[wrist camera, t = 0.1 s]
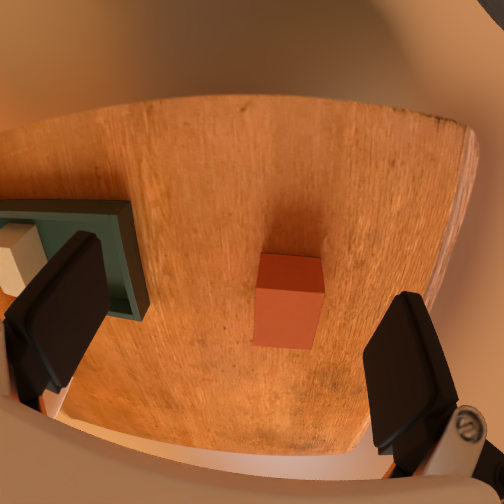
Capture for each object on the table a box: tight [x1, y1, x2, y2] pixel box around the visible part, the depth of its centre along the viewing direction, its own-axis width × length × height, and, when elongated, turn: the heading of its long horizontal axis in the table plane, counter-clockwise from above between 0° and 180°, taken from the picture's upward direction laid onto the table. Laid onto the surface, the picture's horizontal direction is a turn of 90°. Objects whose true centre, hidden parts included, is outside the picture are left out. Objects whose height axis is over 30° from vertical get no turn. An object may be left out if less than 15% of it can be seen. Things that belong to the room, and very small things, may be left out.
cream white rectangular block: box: [0, 223, 48, 297], centre depth 27 cm, size 5×6×4 cm
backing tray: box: [0, 199, 150, 322], centre depth 28 cm, size 20×12×3 cm, turn 88°
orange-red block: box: [253, 253, 325, 350], centre depth 26 cm, size 5×6×4 cm
